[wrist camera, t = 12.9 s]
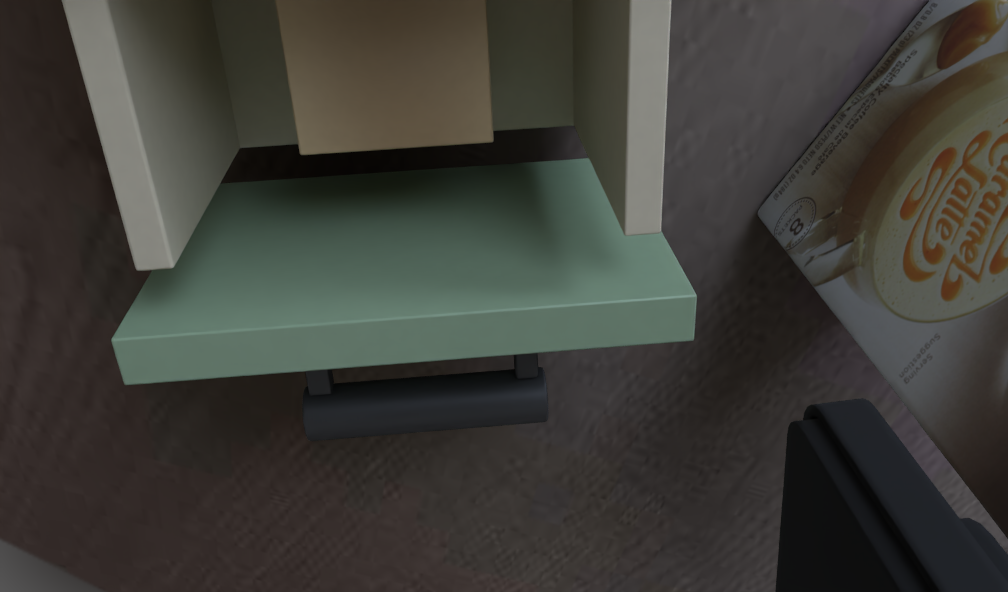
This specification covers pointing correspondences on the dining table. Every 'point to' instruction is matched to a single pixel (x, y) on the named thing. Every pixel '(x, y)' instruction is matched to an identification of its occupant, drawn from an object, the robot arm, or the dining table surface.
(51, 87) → the dining table surface
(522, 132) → the dining table surface
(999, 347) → the coffee box
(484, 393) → the drawer
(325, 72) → the block
